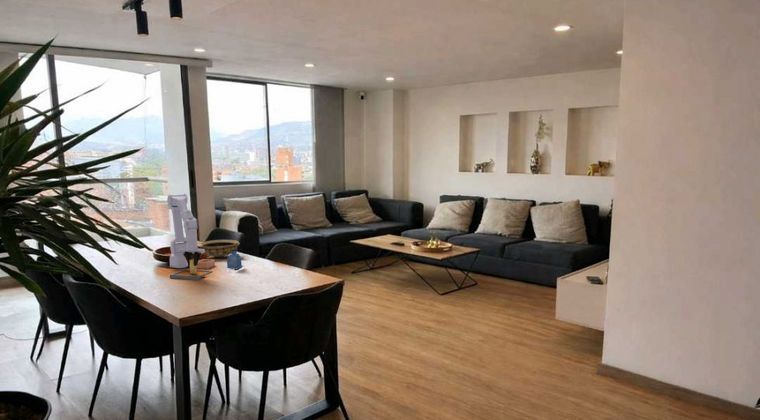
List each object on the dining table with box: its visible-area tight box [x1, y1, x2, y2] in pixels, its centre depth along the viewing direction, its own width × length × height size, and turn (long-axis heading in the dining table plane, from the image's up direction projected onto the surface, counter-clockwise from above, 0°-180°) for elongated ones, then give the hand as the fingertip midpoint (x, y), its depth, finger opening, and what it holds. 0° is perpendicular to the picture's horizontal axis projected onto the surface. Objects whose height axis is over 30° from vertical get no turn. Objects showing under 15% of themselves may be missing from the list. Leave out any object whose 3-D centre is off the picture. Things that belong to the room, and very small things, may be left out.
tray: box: [169, 268, 214, 281], centre depth 274 cm, size 18×13×2 cm
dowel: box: [189, 258, 197, 275], centre depth 273 cm, size 3×3×8 cm
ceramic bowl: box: [198, 239, 240, 260], centre depth 320 cm, size 30×24×10 cm
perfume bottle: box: [226, 248, 243, 271], centre depth 290 cm, size 6×6×12 cm
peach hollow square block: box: [196, 258, 216, 270], centre depth 290 cm, size 8×8×5 cm
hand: (192, 265), depth 273 cm, fingers closed on dowel, 3 cm apart
